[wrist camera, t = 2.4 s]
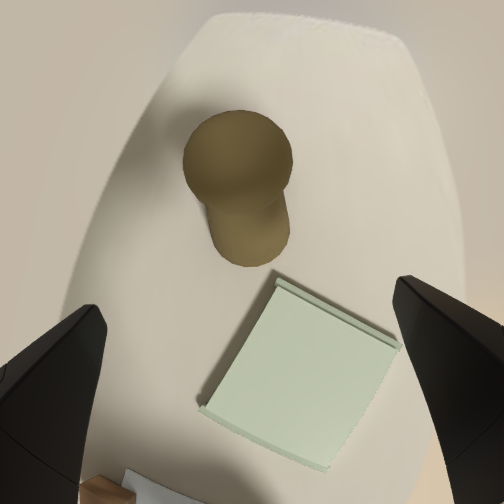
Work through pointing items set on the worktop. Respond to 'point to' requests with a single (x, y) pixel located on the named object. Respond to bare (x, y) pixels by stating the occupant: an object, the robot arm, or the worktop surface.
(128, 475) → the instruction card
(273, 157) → the cork
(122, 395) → the worktop surface
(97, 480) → the brick
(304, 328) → the baseplate
